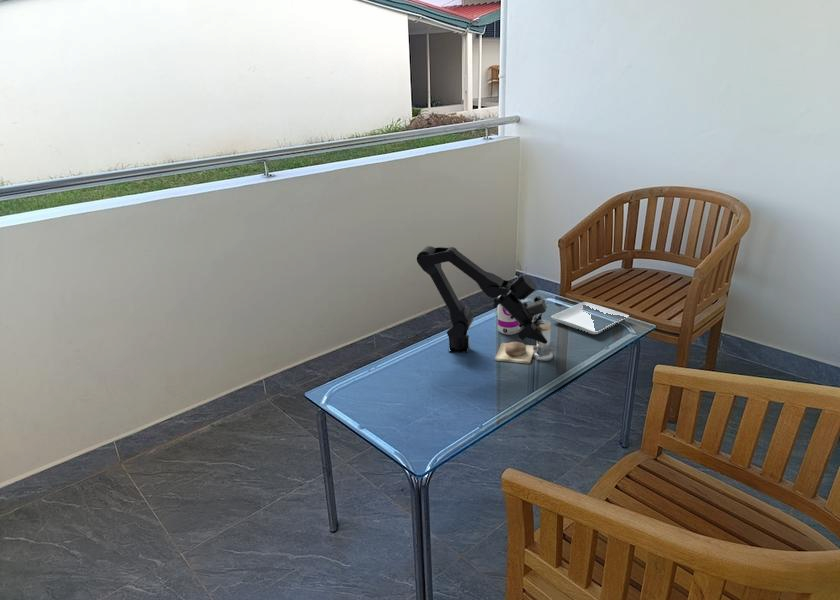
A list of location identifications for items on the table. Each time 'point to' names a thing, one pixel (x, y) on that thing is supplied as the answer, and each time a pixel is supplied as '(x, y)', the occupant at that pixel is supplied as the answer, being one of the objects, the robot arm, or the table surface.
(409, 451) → the table surface
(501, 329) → the supplement can
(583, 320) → the salad plate
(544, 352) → the grey tall flared piece
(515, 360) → the beige square tile
